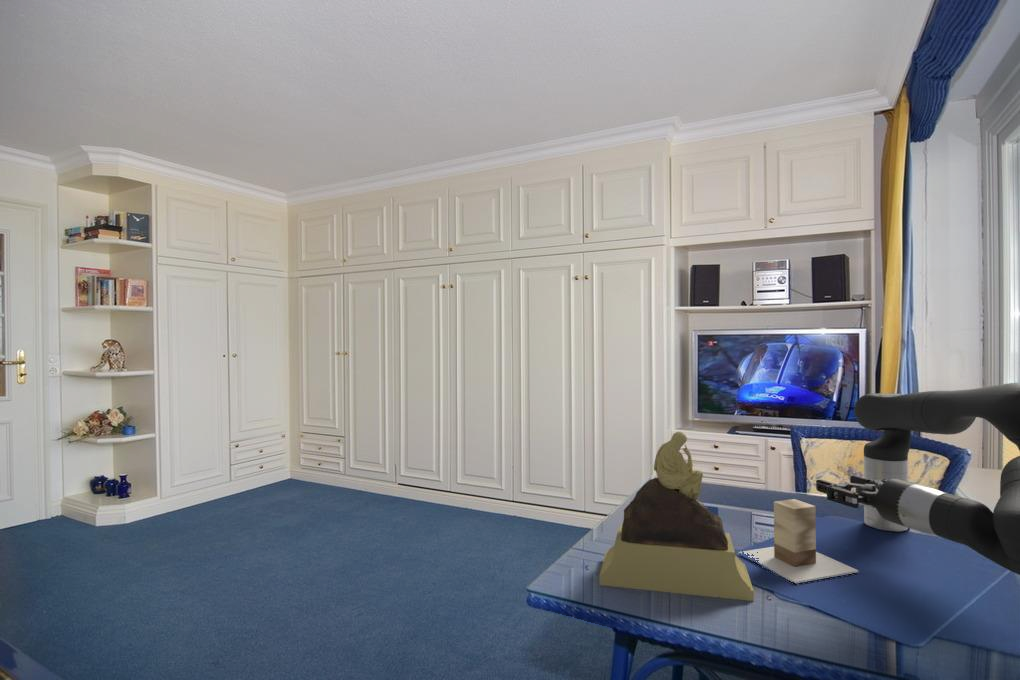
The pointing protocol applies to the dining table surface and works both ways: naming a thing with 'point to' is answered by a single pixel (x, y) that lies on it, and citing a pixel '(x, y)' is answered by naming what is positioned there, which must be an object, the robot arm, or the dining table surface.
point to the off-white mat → (805, 573)
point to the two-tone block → (795, 532)
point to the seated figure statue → (674, 537)
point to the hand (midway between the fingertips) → (834, 482)
